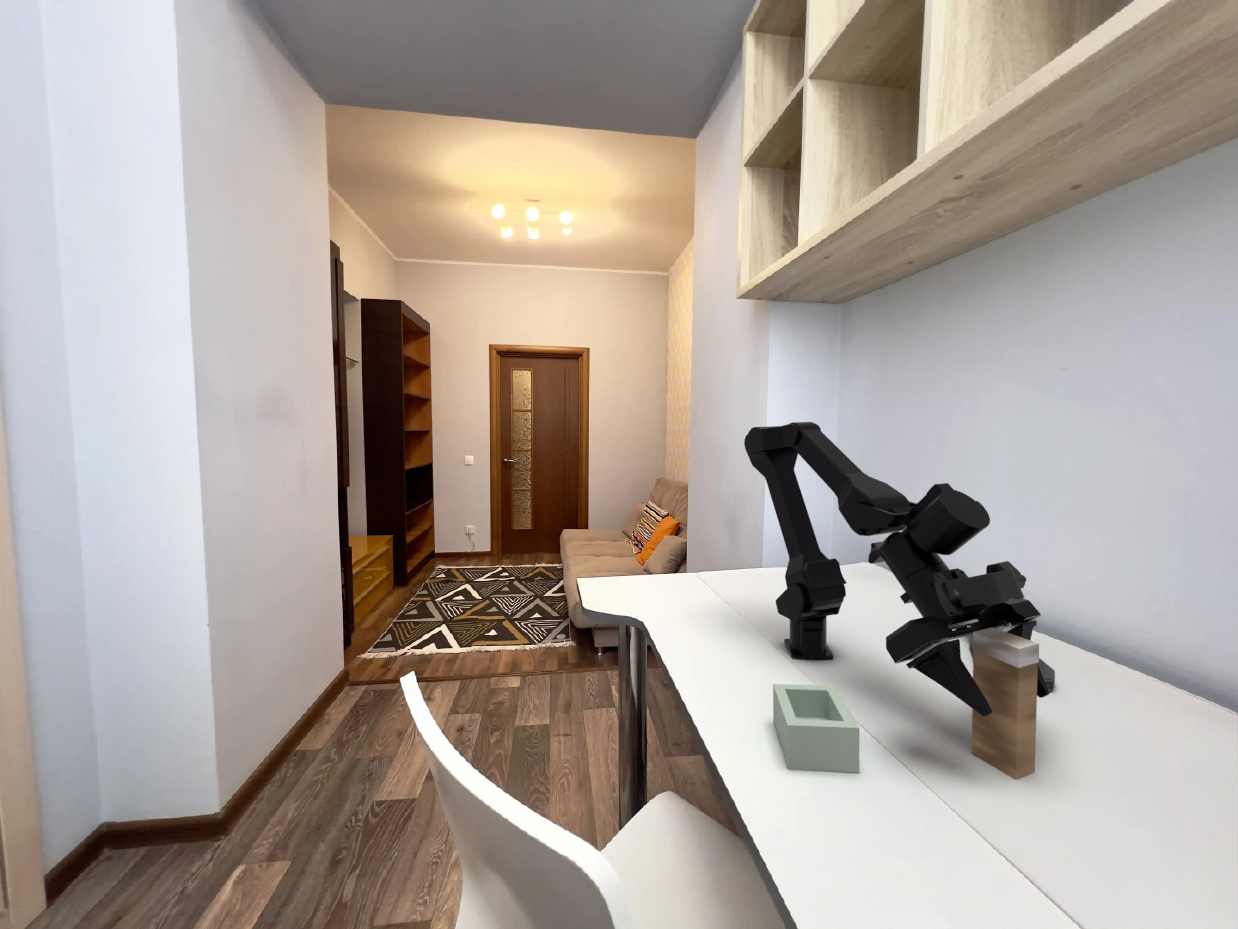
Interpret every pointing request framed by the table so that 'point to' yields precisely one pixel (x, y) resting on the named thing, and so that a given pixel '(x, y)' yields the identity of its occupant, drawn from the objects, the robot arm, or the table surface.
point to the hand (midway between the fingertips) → (1017, 705)
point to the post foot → (815, 728)
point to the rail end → (1006, 701)
